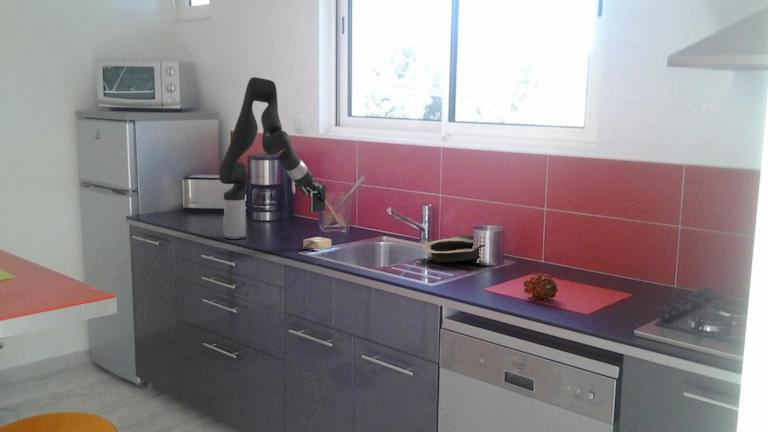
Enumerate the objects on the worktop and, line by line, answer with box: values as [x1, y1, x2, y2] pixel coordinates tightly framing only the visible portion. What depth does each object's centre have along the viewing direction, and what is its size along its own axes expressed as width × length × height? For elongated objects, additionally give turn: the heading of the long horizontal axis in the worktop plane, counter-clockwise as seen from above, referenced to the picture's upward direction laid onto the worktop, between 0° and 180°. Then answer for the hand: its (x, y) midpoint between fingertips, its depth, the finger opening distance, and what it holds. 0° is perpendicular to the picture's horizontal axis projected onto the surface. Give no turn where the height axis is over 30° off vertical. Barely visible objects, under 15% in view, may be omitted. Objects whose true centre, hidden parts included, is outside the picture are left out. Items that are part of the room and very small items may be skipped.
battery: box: [307, 182, 327, 213], centre depth 290 cm, size 7×4×11 cm, turn 139°
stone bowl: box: [421, 234, 486, 265], centre depth 271 cm, size 25×25×9 cm
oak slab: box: [302, 236, 332, 249], centre depth 293 cm, size 8×8×4 cm
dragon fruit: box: [523, 273, 559, 302], centre depth 220 cm, size 8×8×12 cm
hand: (319, 199), depth 291 cm, fingers closed on battery, 4 cm apart
